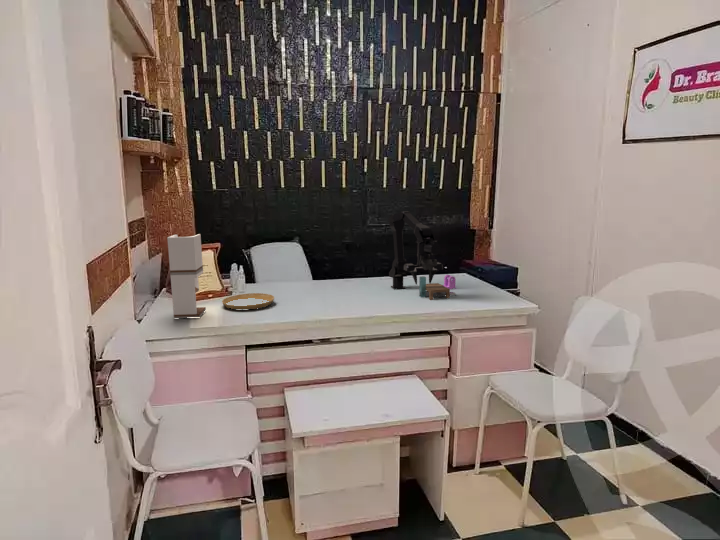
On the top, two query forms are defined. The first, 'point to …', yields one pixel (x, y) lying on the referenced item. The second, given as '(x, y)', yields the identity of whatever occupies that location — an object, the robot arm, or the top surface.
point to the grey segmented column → (185, 274)
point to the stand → (437, 289)
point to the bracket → (449, 282)
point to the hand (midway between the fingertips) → (423, 283)
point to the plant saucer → (246, 296)
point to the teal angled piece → (423, 289)
